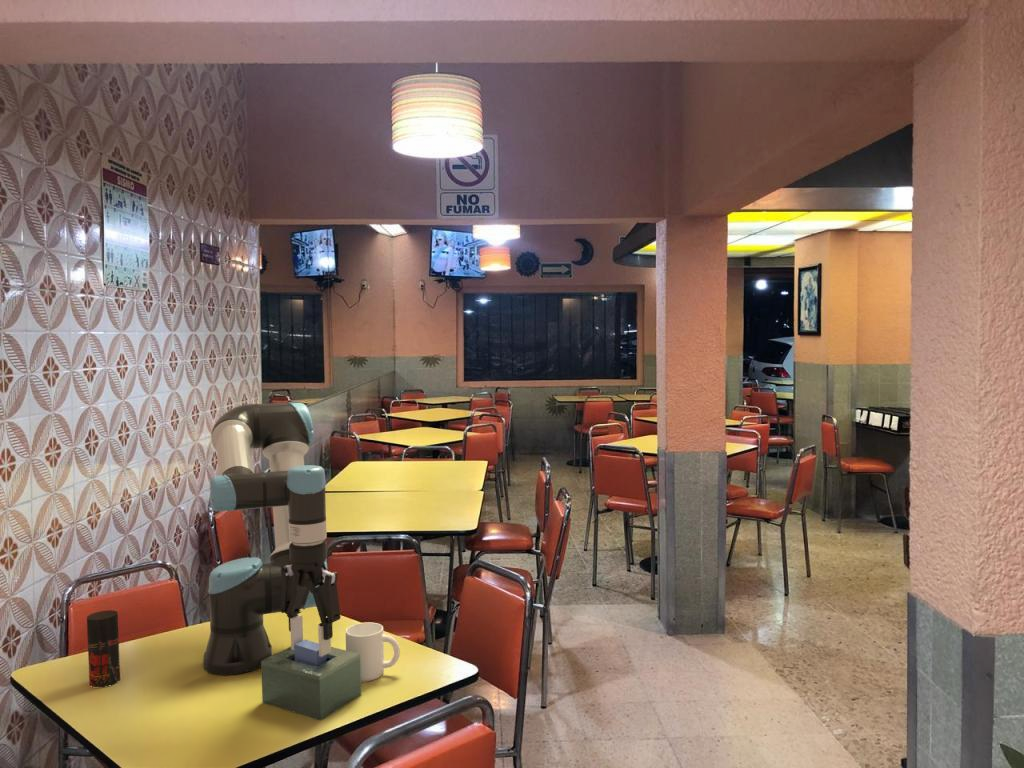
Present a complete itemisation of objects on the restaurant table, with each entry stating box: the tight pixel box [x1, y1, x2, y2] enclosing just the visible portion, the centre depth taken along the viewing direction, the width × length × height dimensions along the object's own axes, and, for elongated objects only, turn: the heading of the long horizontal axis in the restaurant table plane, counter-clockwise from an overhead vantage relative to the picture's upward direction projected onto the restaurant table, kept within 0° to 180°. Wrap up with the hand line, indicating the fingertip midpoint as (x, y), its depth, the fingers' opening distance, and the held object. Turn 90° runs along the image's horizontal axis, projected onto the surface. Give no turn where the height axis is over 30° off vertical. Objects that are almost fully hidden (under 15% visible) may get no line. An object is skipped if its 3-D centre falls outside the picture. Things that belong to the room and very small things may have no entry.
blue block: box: [295, 639, 327, 666], centre depth 152 cm, size 6×3×6 cm, turn 62°
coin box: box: [260, 646, 362, 721], centre depth 153 cm, size 16×12×9 cm
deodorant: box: [86, 609, 121, 688], centre depth 162 cm, size 6×6×15 cm
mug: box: [345, 621, 401, 683], centre depth 164 cm, size 12×8×10 cm
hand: (310, 650), depth 153 cm, fingers open, 7 cm apart
